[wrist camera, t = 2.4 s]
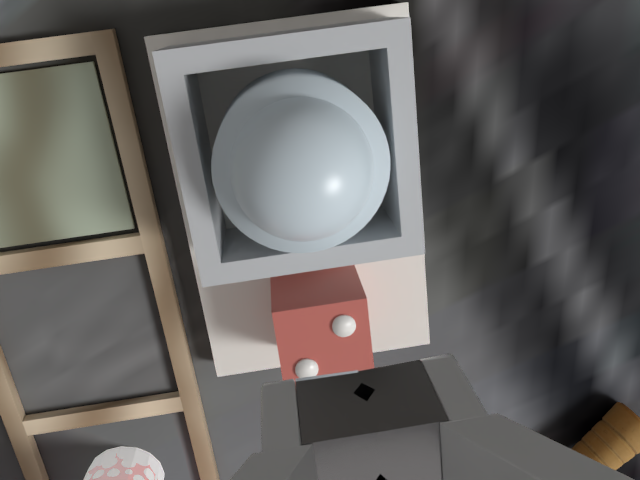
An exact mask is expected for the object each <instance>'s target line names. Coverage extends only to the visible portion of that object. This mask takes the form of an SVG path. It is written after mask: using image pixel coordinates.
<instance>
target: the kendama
mask: <svg viewBox="0 0 640 480" xmlns="http://www.w3.org/2000/svg"><path fill="white" fill-rule="evenodd" d="M571 449H572V450H574V451H576V452H578V453H580V454H582V455H584V456H587V457H589V458H591V459H593V460H595V461H597V462H599V463H601V464H603V465H605V466H607V467H609V468H611V469H613V470H616V469H618V468H619V467H621V466H622V465H623V463H626V462H627V461H629V460H630V459H631V458H633V457H634V456H635V454H638V453H640V418H639V417H638V416H637V415H636V414H635V413H634V412H633V411H632V410H630V409H629V408H628V407H627V406H625V405H624V404H623V403H620V402H617V403H616V404H615V405H614V406H613V407H612V408H611V409H610V410H609V411H608V412H607V413H606V414H605V415H604V416H603V417H602V420H601V421H599V422H598V423H597V424H596V425H595V426H594V427H593V428H592V429H591V430H590V431H589V432H588V433H587V434H586V435H585V436H584V437H583V438H582V440H581V441H579V442H577V443H576V445H575V446H573V448H571Z"/></svg>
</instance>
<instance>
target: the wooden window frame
mask: <svg viewBox="0 0 640 480" xmlns="http://www.w3.org/2000/svg"><path fill="white" fill-rule="evenodd" d="M89 55H96V58H97V62H98V67H99V71H100V75H101V79H102V83H103V87H104V91H105V95H106V99H107V103H108V107H109V111H110V115H111V119H112V123H113V127H114V131H115V135H116V139H117V144H118V148H119V152H120V156H121V160H122V164H123V168H124V172H125V176H126V180H127V184H128V188H129V192H130V196H131V200H132V204H133V208H134V212H135V216H136V220H137V225H138V229H139V232H137V233H130V234H123V235H116V236H109V237H103V238H96V239H89V240H82V241H75V242H68V243H61V244H54V245H47V246H41V247H34V248H27V249H20V250H13V251H6V252H0V275H1V274H8V273H15V272H22V271H29V270H35V269H42V268H49V267H56V266H63V265H69V264H76V263H83V262H90V261H97V260H104V259H110V258H117V257H124V256H131V255H138V254H144V253H145V257H146V261H147V265H148V269H149V273H150V277H151V281H152V285H153V289H154V293H155V297H156V302H157V306H158V310H159V314H160V318H161V322H162V326H163V330H164V334H165V338H166V342H167V346H168V350H169V354H170V358H171V362H172V366H173V370H174V374H175V378H176V383H177V387H178V391H176V392H170V393H164V394H157V395H151V396H145V397H138V398H132V399H126V400H119V401H113V402H106V403H100V404H94V405H87V406H81V407H75V408H68V409H62V410H56V411H49V412H43V413H36V414H30V415H26V414H25V411H24V409H23V406H22V403H21V400H20V398H19V395H18V392H17V389H16V387H15V384H14V381H13V378H12V376H11V373H10V370H9V367H8V365H7V362H6V359H5V356H4V354H3V351H2V348H1V345H0V415H1V417H2V420H3V423H4V425H5V428H6V430H7V433H8V436H9V438H10V441H11V444H12V446H13V449H14V451H15V454H16V457H17V459H18V462H19V464H20V467H21V470H22V472H23V475H24V478H25V480H49V477H48V475H47V472H46V469H45V466H44V464H43V461H42V458H41V455H40V453H39V450H38V447H37V444H36V442H35V439H34V436H33V435H36V434H43V433H49V432H55V431H61V430H68V429H74V428H80V427H87V426H93V425H99V424H106V423H112V422H118V421H124V420H131V419H137V418H143V417H150V416H156V415H162V414H169V413H175V412H181V411H184V415H185V419H186V423H187V427H188V431H189V435H190V439H191V443H192V447H193V451H194V455H195V459H196V464H197V468H198V472H199V476H200V480H220V479H219V475H218V470H217V466H216V462H215V458H214V453H213V449H212V445H211V440H210V436H209V432H208V427H207V423H206V419H205V414H204V410H203V406H202V402H201V397H200V393H199V389H198V384H197V380H196V376H195V371H194V367H193V363H192V358H191V354H190V350H189V346H188V341H187V337H186V333H185V328H184V324H183V320H182V315H181V311H180V307H179V302H178V298H177V294H176V290H175V285H174V281H173V277H172V272H171V268H170V264H169V259H168V255H167V251H166V246H165V242H164V238H163V234H162V229H161V225H160V221H159V216H158V212H157V208H156V203H155V199H154V195H153V190H152V186H151V182H150V177H149V173H148V169H147V165H146V160H145V156H144V152H143V147H142V143H141V139H140V134H139V130H138V126H137V121H136V117H135V113H134V109H133V104H132V100H131V96H130V91H129V87H128V83H127V78H126V74H125V70H124V65H123V61H122V57H121V53H120V48H119V44H118V40H117V35H116V31H115V29H108V30H100V31H93V32H85V33H77V34H70V35H62V36H54V37H47V38H39V39H31V40H24V41H16V42H8V43H1V44H0V67H6V66H13V65H21V64H28V63H36V62H43V61H51V60H59V59H66V58H74V57H81V56H89ZM128 229H135V224H134V220H133V216H132V212H131V208H130V204H129V200H128V196H127V192H126V188H125V184H124V180H123V176H122V172H121V168H120V164H119V160H118V156H117V152H116V148H115V143H114V139H113V135H112V131H111V127H110V123H109V119H108V115H107V111H106V107H105V103H104V99H103V95H102V91H101V87H100V83H99V79H98V75H97V71H96V67H95V63H94V61H92V62H84V63H77V64H69V65H62V66H54V67H47V68H39V69H32V70H24V71H17V72H9V73H1V74H0V248H3V247H10V246H17V245H24V244H31V243H38V242H45V241H52V240H59V239H66V238H72V237H79V236H86V235H93V234H100V233H107V232H114V231H121V230H128Z"/></svg>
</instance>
